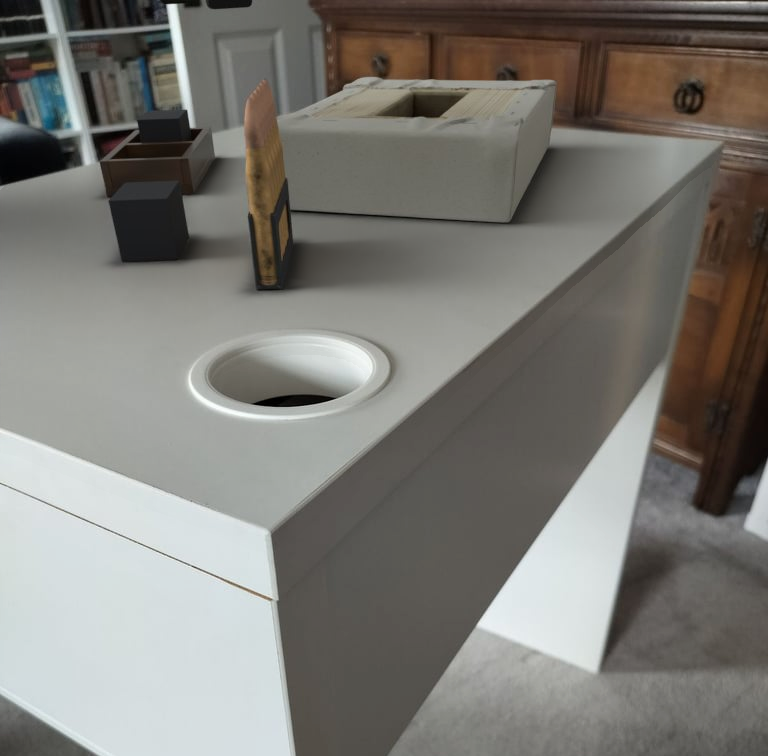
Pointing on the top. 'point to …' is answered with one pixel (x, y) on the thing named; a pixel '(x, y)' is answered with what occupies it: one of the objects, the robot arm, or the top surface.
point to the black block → (149, 220)
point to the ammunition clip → (267, 191)
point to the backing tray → (159, 161)
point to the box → (419, 148)
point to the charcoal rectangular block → (164, 126)
